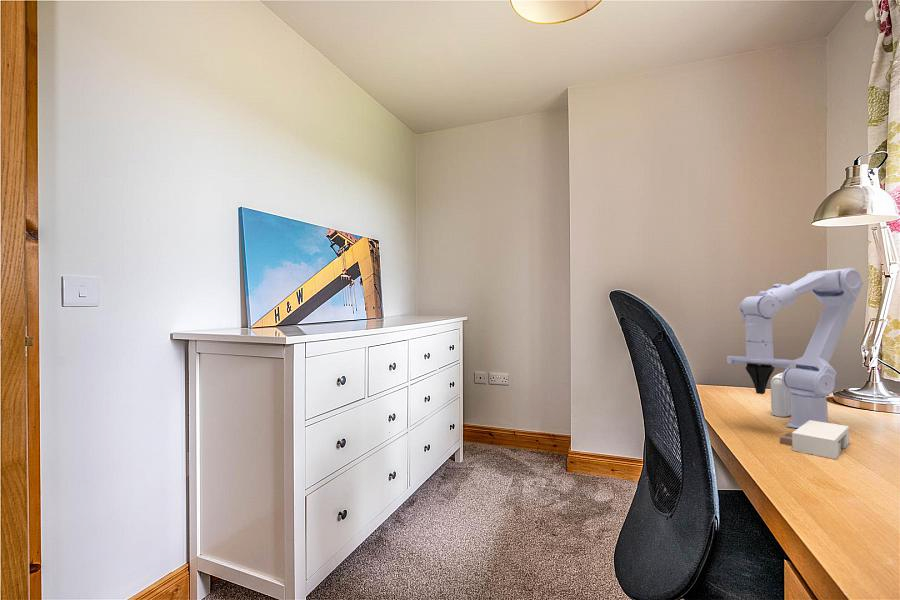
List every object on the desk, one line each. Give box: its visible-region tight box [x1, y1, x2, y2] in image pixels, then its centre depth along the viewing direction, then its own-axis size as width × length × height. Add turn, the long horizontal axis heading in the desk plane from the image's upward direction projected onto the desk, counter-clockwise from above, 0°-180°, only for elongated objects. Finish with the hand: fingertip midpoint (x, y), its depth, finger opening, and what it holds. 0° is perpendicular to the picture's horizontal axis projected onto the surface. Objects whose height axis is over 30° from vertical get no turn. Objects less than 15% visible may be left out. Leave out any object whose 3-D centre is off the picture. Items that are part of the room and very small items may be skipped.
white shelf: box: [791, 420, 851, 460], centre depth 97 cm, size 16×7×4 cm, turn 128°
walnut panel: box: [779, 431, 793, 447], centre depth 98 cm, size 7×9×2 cm
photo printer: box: [770, 372, 791, 418], centre depth 125 cm, size 10×4×12 cm, turn 123°
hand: (760, 393), depth 109 cm, fingers closed
